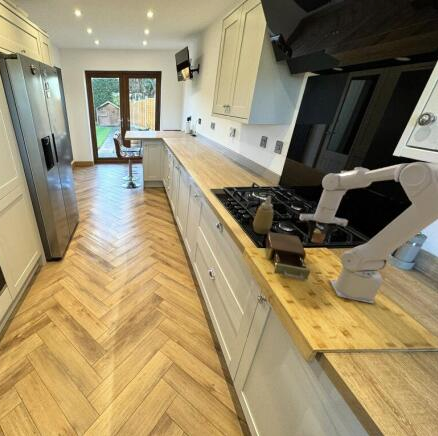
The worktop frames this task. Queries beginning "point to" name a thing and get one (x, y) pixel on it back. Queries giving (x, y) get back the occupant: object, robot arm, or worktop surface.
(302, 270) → the drawer
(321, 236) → the small brown jar
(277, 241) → the cabinet
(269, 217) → the squeeze bottle
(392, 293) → the worktop surface
